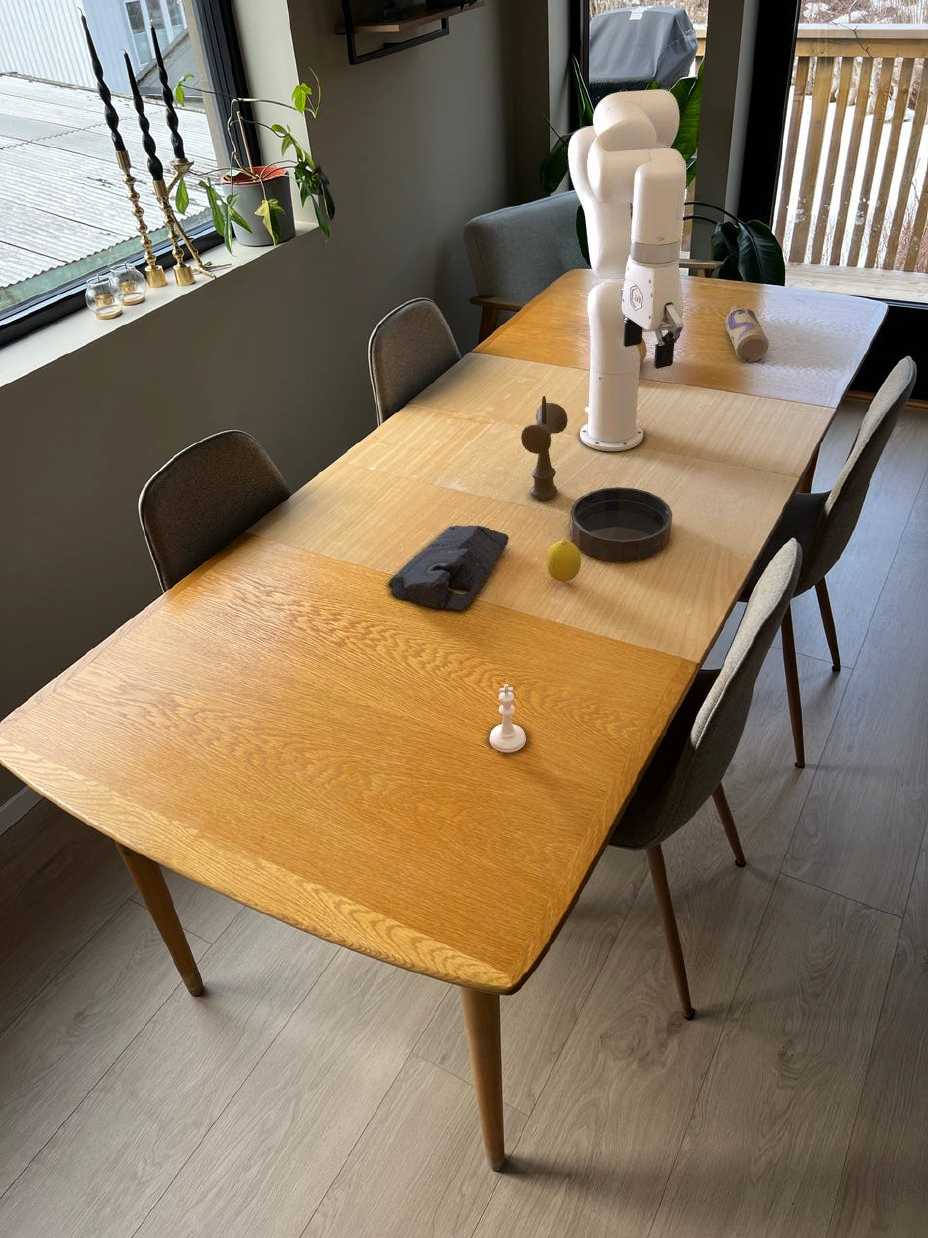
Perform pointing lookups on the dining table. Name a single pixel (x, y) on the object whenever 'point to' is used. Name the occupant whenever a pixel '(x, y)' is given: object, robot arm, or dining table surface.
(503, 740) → the chess piece
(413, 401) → the dining table surface
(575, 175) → the robot arm
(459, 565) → the dark slate chunk
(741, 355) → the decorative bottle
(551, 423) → the kendama
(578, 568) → the lemon
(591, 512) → the pan
